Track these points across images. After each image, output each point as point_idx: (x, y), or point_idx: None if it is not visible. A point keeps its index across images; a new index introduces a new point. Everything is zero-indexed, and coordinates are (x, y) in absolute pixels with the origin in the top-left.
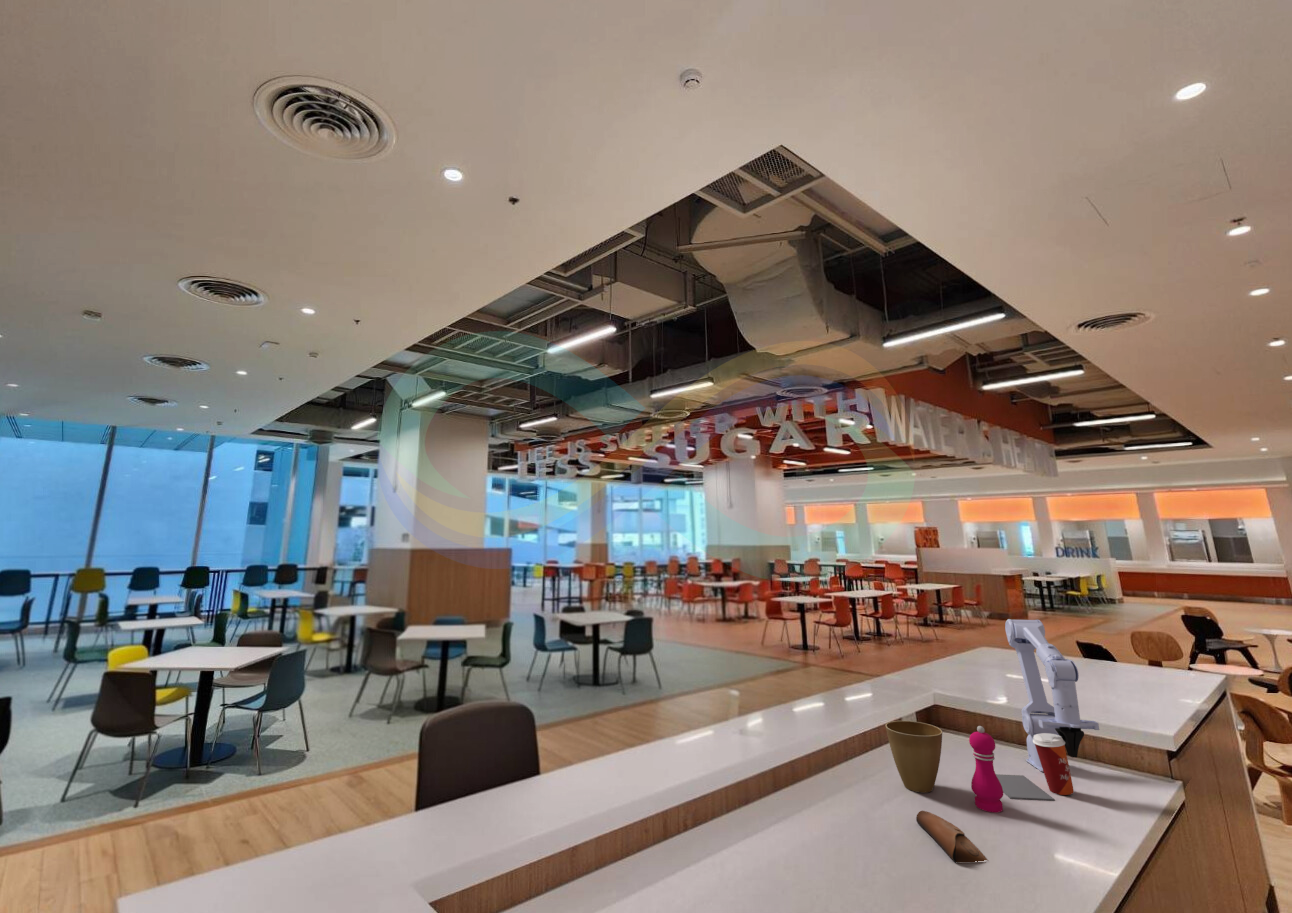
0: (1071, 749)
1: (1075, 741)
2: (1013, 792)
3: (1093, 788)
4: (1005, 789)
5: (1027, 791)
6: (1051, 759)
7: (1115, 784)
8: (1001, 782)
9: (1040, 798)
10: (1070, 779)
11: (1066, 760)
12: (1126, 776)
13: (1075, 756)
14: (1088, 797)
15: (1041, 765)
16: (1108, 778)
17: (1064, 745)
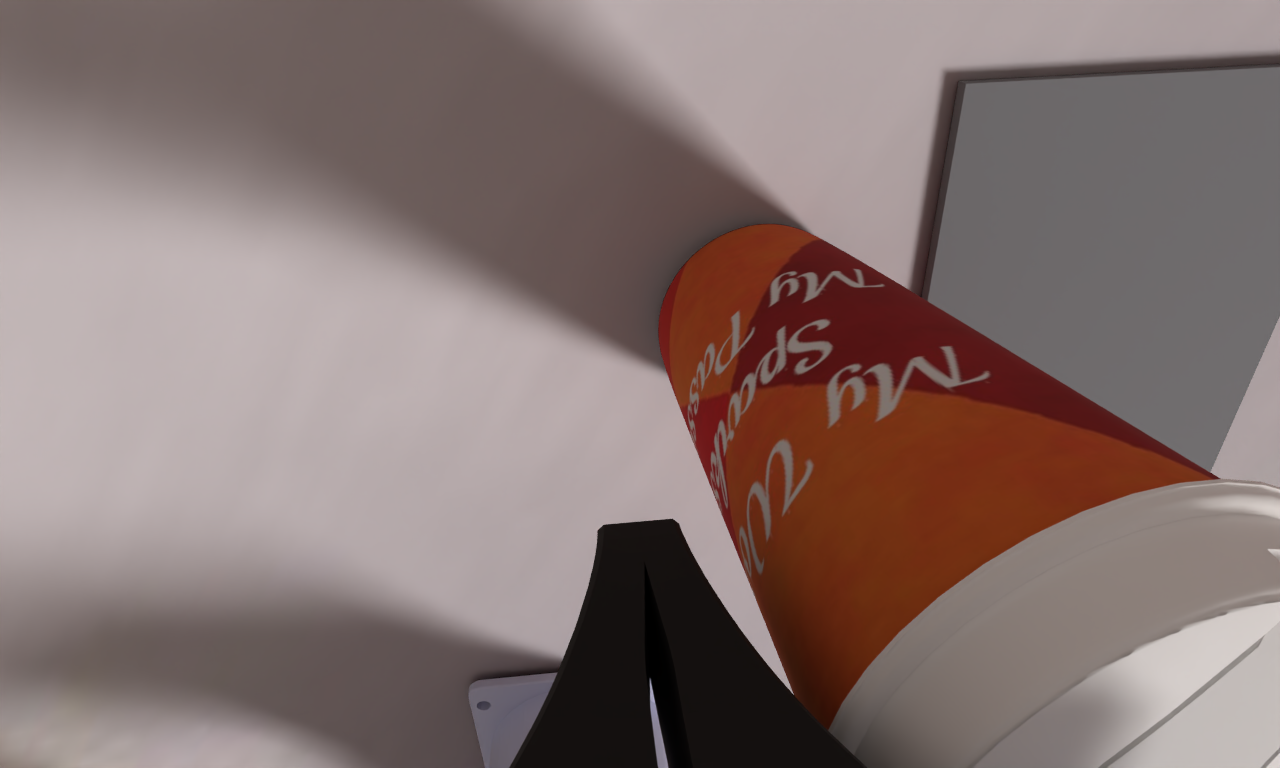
0: (705, 597)
1: (643, 733)
2: (1255, 192)
3: (412, 446)
4: (1274, 252)
5: (1099, 241)
6: (1066, 387)
7: (185, 557)
8: (1178, 401)
9: (1101, 78)
10: (728, 305)
11: (820, 413)
12: (47, 708)
13: (627, 531)
14: (558, 233)
15: (658, 721)
16: (203, 652)
17: (885, 616)
